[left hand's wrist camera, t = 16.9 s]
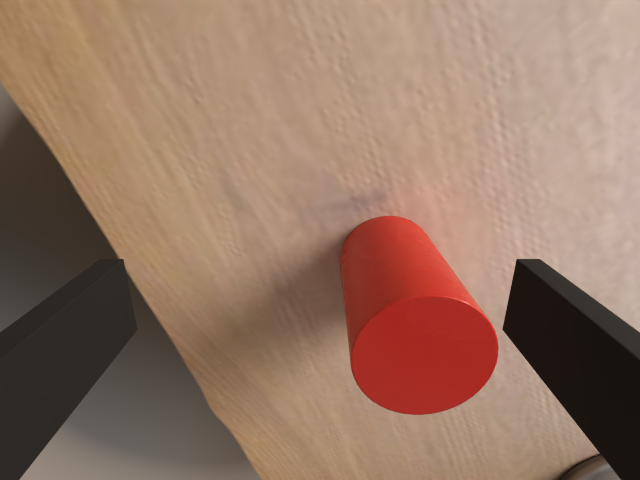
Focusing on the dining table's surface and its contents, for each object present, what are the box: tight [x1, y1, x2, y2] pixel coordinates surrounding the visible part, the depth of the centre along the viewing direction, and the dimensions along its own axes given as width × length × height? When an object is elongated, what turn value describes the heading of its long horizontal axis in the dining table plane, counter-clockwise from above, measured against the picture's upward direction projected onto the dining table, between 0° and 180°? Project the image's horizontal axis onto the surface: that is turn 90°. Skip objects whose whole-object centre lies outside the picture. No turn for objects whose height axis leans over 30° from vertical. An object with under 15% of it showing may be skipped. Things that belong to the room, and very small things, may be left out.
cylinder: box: [340, 216, 498, 415], centre depth 26 cm, size 8×8×13 cm
